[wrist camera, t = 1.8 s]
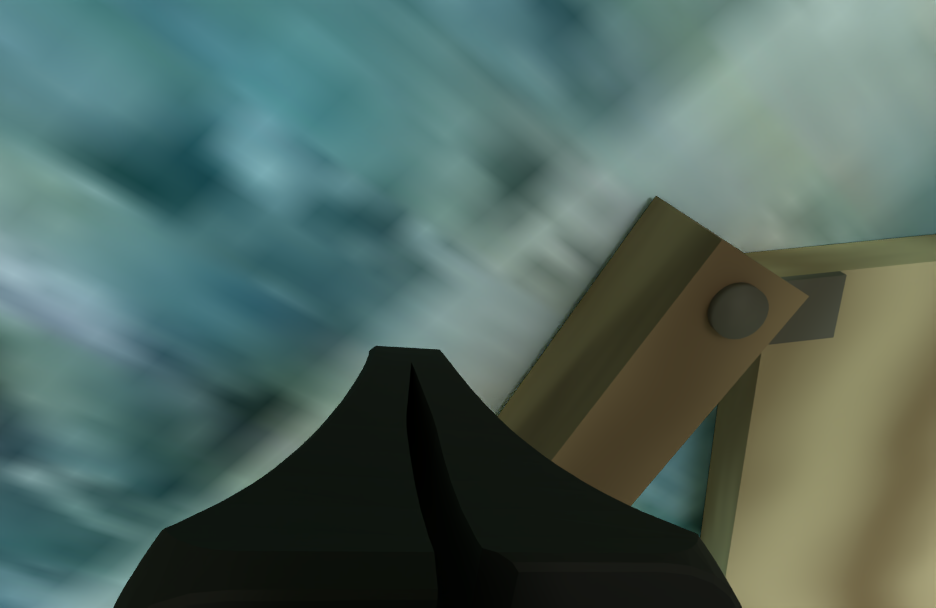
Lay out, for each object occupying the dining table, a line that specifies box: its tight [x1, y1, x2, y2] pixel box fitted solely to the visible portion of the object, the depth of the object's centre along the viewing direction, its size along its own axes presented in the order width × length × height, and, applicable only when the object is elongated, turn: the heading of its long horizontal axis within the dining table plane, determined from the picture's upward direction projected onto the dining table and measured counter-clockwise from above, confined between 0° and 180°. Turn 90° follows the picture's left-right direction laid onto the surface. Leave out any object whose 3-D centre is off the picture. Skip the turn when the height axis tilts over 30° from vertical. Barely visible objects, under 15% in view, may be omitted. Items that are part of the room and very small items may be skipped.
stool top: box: [700, 234, 936, 608], centre depth 23 cm, size 13×20×4 cm, turn 3°
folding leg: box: [497, 196, 809, 506], centre depth 18 cm, size 3×10×4 cm, turn 148°
